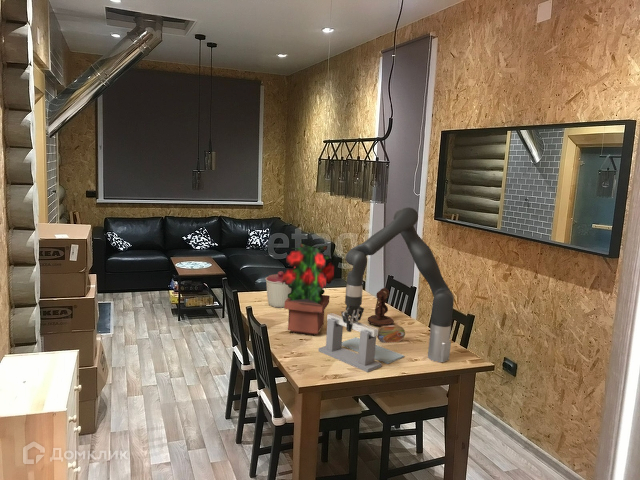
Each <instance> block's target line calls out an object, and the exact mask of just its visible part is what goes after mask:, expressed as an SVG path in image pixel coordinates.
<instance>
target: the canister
mask: <svg viewBox="0 0 640 480" xmlns="http://www.w3.org/2000/svg"><path fill="white" fill-rule="evenodd" d="M265 281H266V282H265V283H266V297H267V303H268V305H269V306H271V307H274V308H284V305H285V301H286V300H287V299H288V294H289V293H291V288H289V287H288V285H286V284H285V282H284V283H283V270H282V271H278V272H277V274H270V275H268V276H267V277H265ZM282 283H283V285H282Z"/></svg>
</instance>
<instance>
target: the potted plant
mask: <svg viewBox="0 0 640 480" xmlns="http://www.w3.org/2000/svg"><path fill="white" fill-rule="evenodd" d="M299 244H300V247H290V249H292V250H291V251H290V252H289V254H287V255H286V257H285V261H286V264H288V265H289V268H287V269H286V270H284V269H283V270H282V272H283V283H284V282H285V284H286V285H288V287H289V288H291V293H289V294H288V299H287V300H286V301H285V305H284V307H283V308H284V310H288V319H287V320H288V323H287V331H292V334H298V335H306V336H313V337H315V335H318V334H319V333H320V330H321V329H322V327H323V326H324V323H325V309H326V308H327V306H329V304H330V297H331V296H330V295H325V290H326V289H327V284H328V285H330V284H331V283H332V281H333V280H334V277H335V265H334V264H333V262H332V261H329V260H330V255H328V254H326V255H325V253H324V251H327V250H328V245H321V246H318V245H317V246H309V245H307V244H303V243H299ZM328 261H329V262H328ZM327 262H328V263H327ZM290 267H291V268H290ZM283 283H282V285H283ZM324 288H325V290H324Z"/></svg>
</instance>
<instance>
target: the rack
mask: <svg viewBox="0 0 640 480" xmlns="http://www.w3.org/2000/svg"><path fill="white" fill-rule="evenodd" d="M326 326H327V327H326V339H325V346H322V347H319V348H318V352H319V353H322V354H324V355H326V356H328V357H331V358H333V359H335V360H339V361H340V362H342V363H344V364H347V365H349V366H353V367H354V368H357V369H359V370H361V371H363V372H366V373H370V372H372V371H374V370H378V369H379V368H381V367H382V366H383V365H382V364H383V362H382V363H381V361H380V362H379V361H378V360H376V359H375V347H376V345H377V336H375V337H372V336H370V335H369V333H368V332H365V331H363V330H362V331H360V332H359V339H360V344H359V352H356V351H354V350H351V349H349V348H346V347H344V346H342V342H343V330H344V329H343V328H344V326H342V325H339V324H336V321H335V320H332V319H330V318H329V319H328V320H327V323H326Z"/></svg>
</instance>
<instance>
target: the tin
mask: <svg viewBox="0 0 640 480" xmlns="http://www.w3.org/2000/svg"><path fill="white" fill-rule="evenodd" d="M377 329H378V336H376V339H377V340H378V341H379V342H380V343H382V344H384V343H385V344H387V343H389V344H390V343H399V342H401V341H403V339H404V338H405V337H406V330H405V329H404V327H403V326H400V325H398V324H396V325H394V324H392V325H389V326H380V327H379V328H377Z"/></svg>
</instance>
